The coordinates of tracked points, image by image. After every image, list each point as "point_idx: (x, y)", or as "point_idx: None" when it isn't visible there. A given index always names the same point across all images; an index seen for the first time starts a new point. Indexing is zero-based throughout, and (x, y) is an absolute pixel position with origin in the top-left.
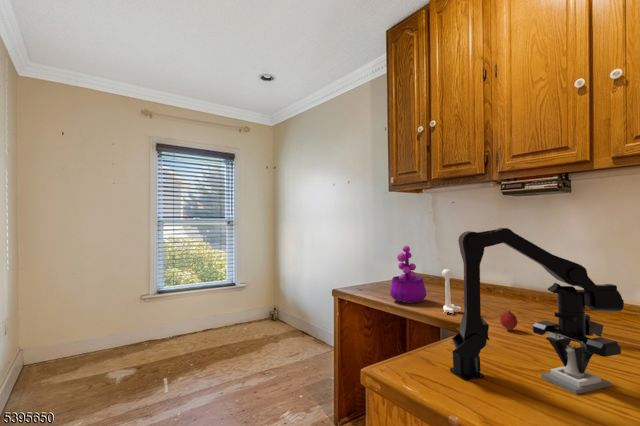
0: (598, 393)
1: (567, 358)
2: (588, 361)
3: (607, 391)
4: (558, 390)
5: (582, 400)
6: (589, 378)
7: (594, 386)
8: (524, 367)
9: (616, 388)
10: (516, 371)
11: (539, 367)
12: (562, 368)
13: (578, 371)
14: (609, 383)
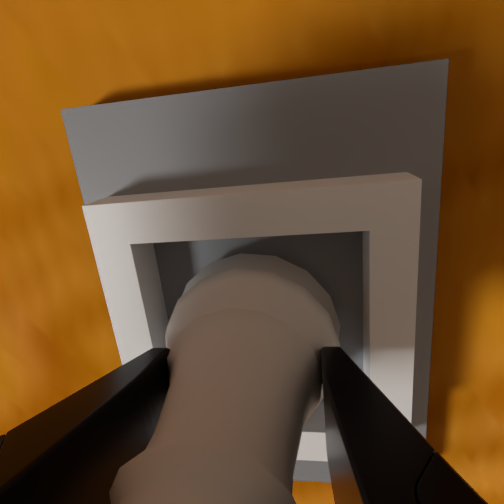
0: (474, 315)
1: (125, 428)
2: (434, 461)
3: (486, 212)
4: (333, 498)
5: (488, 491)
6: (394, 326)
7: (433, 306)
8: (10, 417)
9: (489, 59)
10: None
11: (10, 331)
12: (143, 351)
13: (315, 397)
14: (442, 86)
